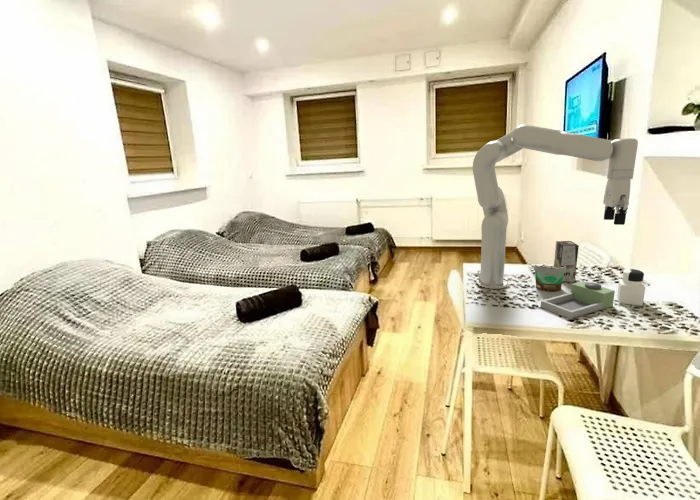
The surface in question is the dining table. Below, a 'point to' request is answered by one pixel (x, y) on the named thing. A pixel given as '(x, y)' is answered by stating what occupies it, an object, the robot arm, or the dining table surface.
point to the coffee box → (566, 258)
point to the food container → (549, 278)
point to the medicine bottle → (631, 287)
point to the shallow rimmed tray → (580, 300)
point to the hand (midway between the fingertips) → (613, 221)
